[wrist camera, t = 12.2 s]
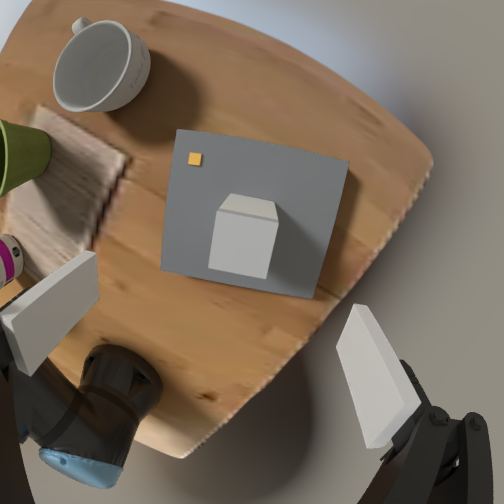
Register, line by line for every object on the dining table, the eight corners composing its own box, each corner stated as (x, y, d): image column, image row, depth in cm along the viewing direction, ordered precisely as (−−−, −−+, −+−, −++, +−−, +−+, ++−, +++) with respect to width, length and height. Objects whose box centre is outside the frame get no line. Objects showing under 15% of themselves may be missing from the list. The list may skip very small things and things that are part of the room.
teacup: (166, 98, 28) (138, 84, 21) (92, 129, 29) (54, 128, 22) (149, 12, 24) (124, -14, 16) (81, 46, 25) (47, 32, 17)
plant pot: (29, 204, 33) (-21, 224, 22) (9, 143, 29) (-40, 150, 19) (73, 166, 31) (16, 178, 20) (51, 99, 27) (-3, 94, 17)
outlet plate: (307, 285, 35) (312, 300, 32) (169, 259, 35) (159, 271, 31) (340, 160, 30) (350, 162, 26) (186, 131, 29) (176, 128, 26)
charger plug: (264, 234, 33) (265, 279, 22) (227, 227, 33) (208, 267, 21) (273, 197, 31) (278, 223, 20) (233, 189, 31) (216, 211, 20)
